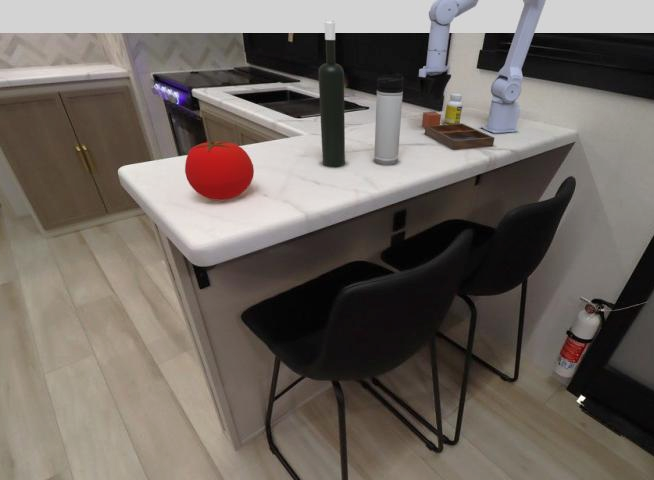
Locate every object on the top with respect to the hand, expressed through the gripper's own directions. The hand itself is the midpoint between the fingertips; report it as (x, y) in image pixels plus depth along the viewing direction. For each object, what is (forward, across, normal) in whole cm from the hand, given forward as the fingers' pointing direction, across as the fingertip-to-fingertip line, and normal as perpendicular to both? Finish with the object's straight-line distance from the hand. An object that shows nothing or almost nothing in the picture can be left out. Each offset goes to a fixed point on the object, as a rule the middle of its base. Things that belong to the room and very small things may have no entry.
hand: (431, 100), depth 121 cm
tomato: (+9, +77, -1) cm, 77 cm away
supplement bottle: (+9, -13, +1) cm, 16 cm away
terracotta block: (+9, -5, -2) cm, 10 cm away
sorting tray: (+9, +2, +12) cm, 16 cm away
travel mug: (+9, +35, +9) cm, 37 cm away
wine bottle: (+9, +46, +1) cm, 47 cm away
